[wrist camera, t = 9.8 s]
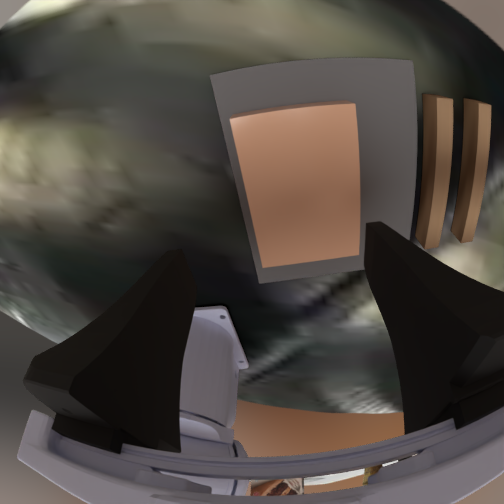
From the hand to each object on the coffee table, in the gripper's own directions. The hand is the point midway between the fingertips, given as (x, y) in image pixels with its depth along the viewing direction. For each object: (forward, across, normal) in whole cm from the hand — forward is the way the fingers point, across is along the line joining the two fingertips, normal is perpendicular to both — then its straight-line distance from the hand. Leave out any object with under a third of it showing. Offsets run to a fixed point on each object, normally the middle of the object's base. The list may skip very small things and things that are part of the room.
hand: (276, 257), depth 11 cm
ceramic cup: (+8, -27, +116) cm, 119 cm away
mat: (+7, -4, 0) cm, 8 cm away
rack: (+7, -12, 0) cm, 14 cm away
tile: (+5, -5, 0) cm, 7 cm away
